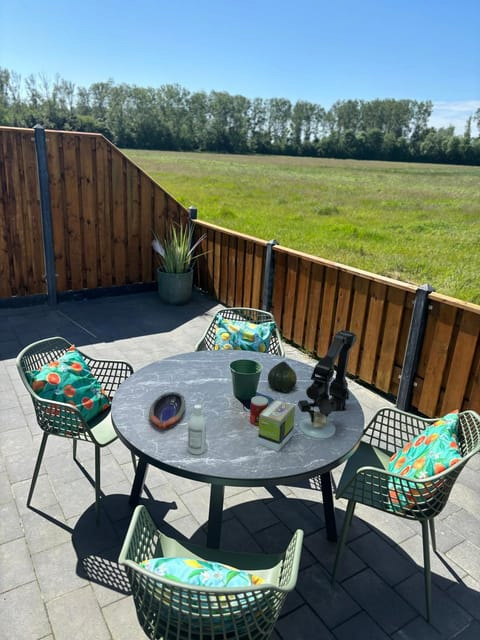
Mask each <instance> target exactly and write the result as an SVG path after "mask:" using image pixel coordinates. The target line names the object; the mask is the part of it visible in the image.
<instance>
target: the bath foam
mask: <svg viewBox="0 0 480 640" xmlns="http://www.w3.org/2000/svg"><path fill="white" fill-rule="evenodd" d="M187 429H188V430H187V431H188V433H187V434H188V437H187V439H188V440H187V441H188V442H187V447H188V448H187V450H188V452H189V453H190V454H193V455H201V454H204V453H205V451H206V443H207V442H206V439H207V437H206V436H207V433H206V432H207V422H206V418H205V417H204V416H203V414H202V405H201V404H195V405H194V406H193V414H192V415H191V417H190V419H189V420H188V427H187Z"/></svg>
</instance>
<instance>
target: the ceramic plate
mask: <svg viewBox="0 0 480 640" xmlns="http://www.w3.org/2000/svg"><path fill="white" fill-rule="evenodd" d="M298 427H299V431H300V432H301V433H302V434H304V435H305V436H306V437H308V438H309V437H310V438H312V439H317V440H325V439H330V438H332V437H334V435H335V434H336V426H335V424H334V423H333V422H331V421H330V420H328V419H326V423H325V427H314V426H313V425H312V423H311V418H310V416H309V417H305V418H303V419H301V420H300V421H299V425H298Z"/></svg>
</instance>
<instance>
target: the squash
mask: <svg viewBox="0 0 480 640" xmlns="http://www.w3.org/2000/svg"><path fill="white" fill-rule="evenodd" d="M297 378H298V377H297V374H296V372H295V371H294V369H293V367H291V366H290V365H289V364H288V363H287V362H286V361H281V362H279V363H277V364H276V365H274V366H273V367H272V368H271V369H270V370H269V372H268V374H267V381H268V384H269V386H270V388H272V389H274V390H278V391H280V390H281V392H283V393H287V392H288V391H292V390H293V389H294V388H295V386H296V384H297Z"/></svg>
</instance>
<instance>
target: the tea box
mask: <svg viewBox="0 0 480 640" xmlns="http://www.w3.org/2000/svg"><path fill="white" fill-rule="evenodd" d="M295 412H296V406H295V405H293V404H290V403H286V402H283V401H280V400H277V399H275V400H273V401H272V402H271V403H270V404H268V407H267V408H266V409H265V410H264V411H263V412H262V413H260V415H259V426H258V431H257V433H258V435H257V445H259V446H262V447H265V448H267V449H270V450H272V451H276V452H279V451H280V450H281V449H282V448H283V447H284V446H285V445H286V444H287V442H288V441H289V440H290V439H291V438H292V436H294V430H295V429H294V425H295V415H296V414H295Z"/></svg>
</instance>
